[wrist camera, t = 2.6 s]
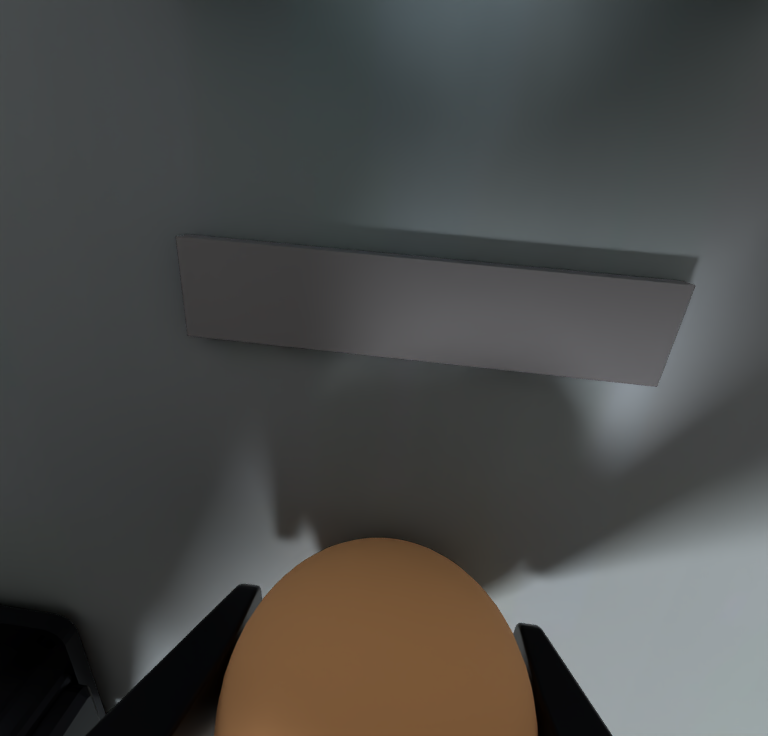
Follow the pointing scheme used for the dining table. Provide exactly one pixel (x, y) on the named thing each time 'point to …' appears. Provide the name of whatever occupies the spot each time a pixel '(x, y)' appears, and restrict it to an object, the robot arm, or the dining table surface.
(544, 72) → the dining table surface
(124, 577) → the dining table surface
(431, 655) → the ball
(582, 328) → the gray ramp board
